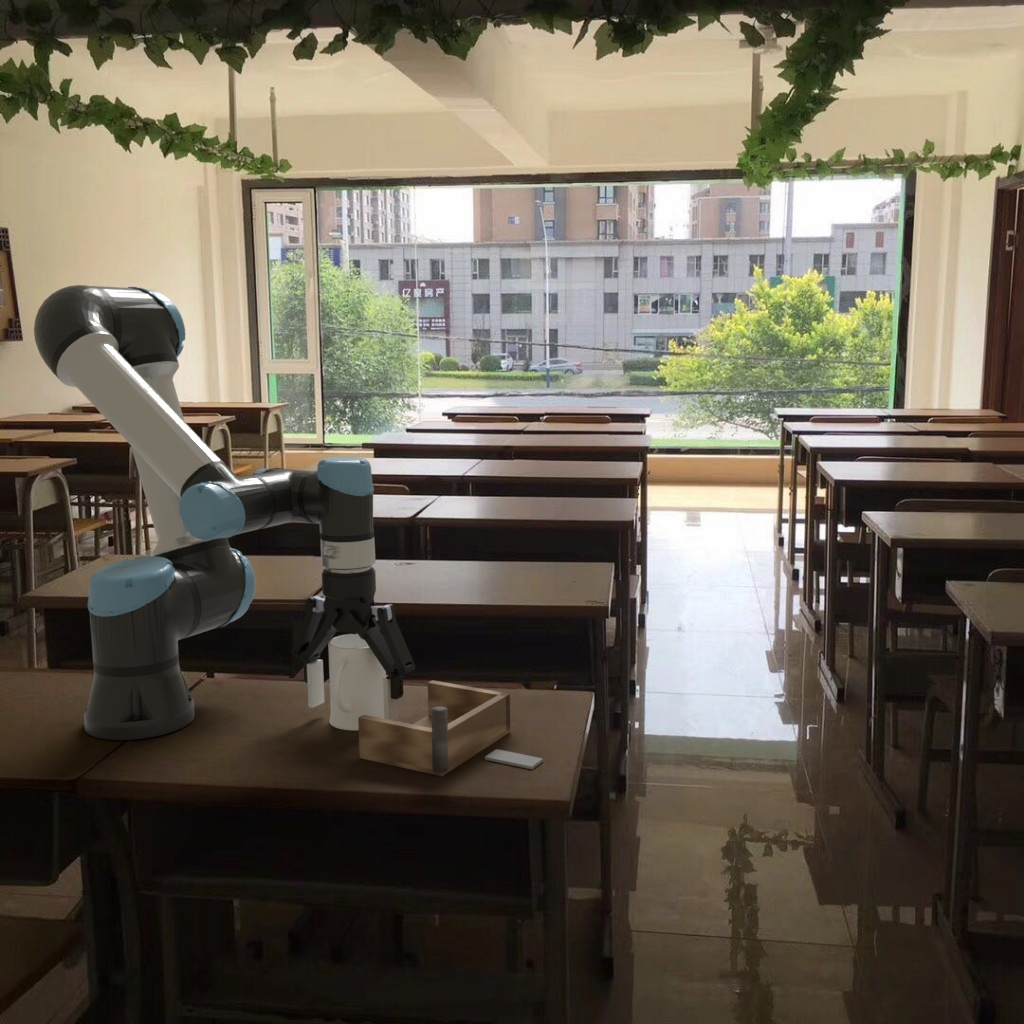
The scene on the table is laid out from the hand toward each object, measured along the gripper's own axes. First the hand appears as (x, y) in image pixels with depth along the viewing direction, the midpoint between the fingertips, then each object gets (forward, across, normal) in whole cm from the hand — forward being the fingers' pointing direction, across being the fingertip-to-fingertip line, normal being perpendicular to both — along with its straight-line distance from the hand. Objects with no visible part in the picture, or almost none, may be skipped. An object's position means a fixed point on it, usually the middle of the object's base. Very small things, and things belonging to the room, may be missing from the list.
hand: (353, 712), depth 155 cm
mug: (+2, 0, 0) cm, 2 cm away
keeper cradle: (+2, +15, -1) cm, 15 cm away
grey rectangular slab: (+2, +27, -1) cm, 27 cm away
